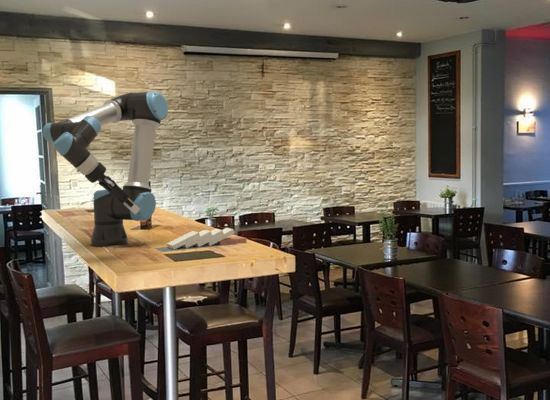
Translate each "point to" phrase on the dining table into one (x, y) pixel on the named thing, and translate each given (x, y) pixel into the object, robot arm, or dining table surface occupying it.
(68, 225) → the dining table surface
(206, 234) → the domino
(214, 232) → the domino
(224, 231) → the domino
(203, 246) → the runner mat
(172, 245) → the domino
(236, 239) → the domino
